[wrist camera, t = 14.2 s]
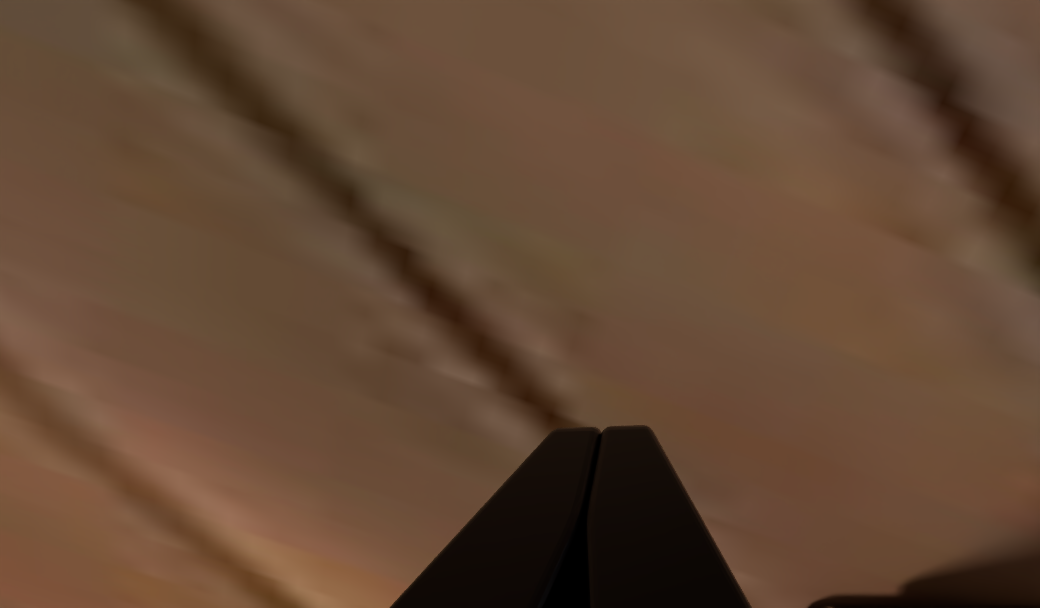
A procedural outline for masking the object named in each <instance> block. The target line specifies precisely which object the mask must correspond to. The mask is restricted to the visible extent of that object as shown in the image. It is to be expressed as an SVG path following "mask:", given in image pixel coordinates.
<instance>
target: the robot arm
mask: <svg viewBox="0 0 1040 608" xmlns="http://www.w3.org/2000/svg"><path fill="white" fill-rule="evenodd" d="M390 608H752V607H751V606H750V604H749V602H748V600H747V598H746V597H745V595H744V593H743V591H742V589H741V588H740V586H739V584H738V582H737V580H736V579H735V577H734V575H733V573H732V572H731V570H730V568H729V566H728V564H727V563H726V561H725V559H724V557H723V555H722V554H721V552H720V550H719V548H718V547H717V545H716V543H715V541H714V539H713V538H712V536H711V534H710V532H709V530H708V529H707V527H706V525H705V523H704V521H703V520H702V518H701V516H700V514H699V513H698V511H697V509H696V507H695V505H694V504H693V502H692V500H691V498H690V496H689V495H688V493H687V491H686V489H685V488H684V486H683V484H682V482H681V480H680V479H679V477H678V475H677V473H676V471H675V470H674V468H673V466H672V464H671V462H670V461H669V459H668V457H667V455H666V454H665V452H664V450H663V448H662V446H661V445H660V443H659V441H658V439H657V437H656V436H655V434H654V432H653V431H652V430H651V428H650V427H648V426H645V425H634V426H610V427H607V428H606V429H604V430H603V432H602V433H601V431H600V430H599V429H598V428H596V427H574V428H558V429H555V430H554V431H552V432H551V433H550V434H549V435H548V436H547V437H546V438H545V439H544V440H543V441H542V442H541V444H540V445H539V446H538V447H537V448H536V449H535V450H534V451H533V452H532V453H531V454H530V456H529V457H528V458H527V459H526V460H525V461H524V462H523V463H522V464H521V465H520V466H519V468H518V469H517V470H516V471H515V472H514V473H513V474H512V475H511V476H510V477H509V478H508V479H507V481H506V482H505V483H504V484H503V485H502V486H501V487H500V488H499V489H498V490H497V491H496V493H495V494H494V495H493V496H492V497H491V498H490V499H489V500H488V501H487V502H486V503H485V504H484V506H483V507H482V508H481V509H480V510H479V511H478V512H477V513H476V514H475V515H474V516H473V518H472V519H471V520H470V521H469V522H468V523H467V524H466V525H465V526H464V527H463V528H462V529H461V531H460V532H459V533H458V534H457V535H456V536H455V537H454V538H453V539H452V540H451V541H450V543H449V544H448V545H447V546H446V547H445V548H444V549H443V550H442V551H441V552H440V553H439V554H438V556H437V557H436V558H435V559H434V560H433V561H432V562H431V563H430V564H429V565H428V566H427V568H426V569H425V570H424V571H423V572H422V573H421V574H420V575H419V576H418V577H417V578H416V579H415V581H414V582H413V583H412V584H411V585H410V586H409V587H408V588H407V589H406V590H405V591H404V593H403V594H402V595H401V596H400V597H399V598H398V599H397V600H396V601H395V602H394V603H393V605H392V606H391V607H390Z"/></svg>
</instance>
